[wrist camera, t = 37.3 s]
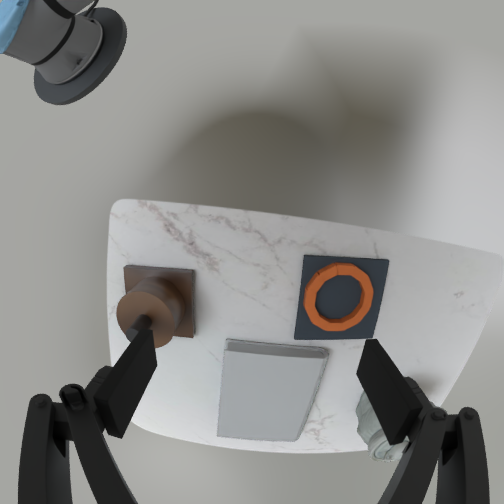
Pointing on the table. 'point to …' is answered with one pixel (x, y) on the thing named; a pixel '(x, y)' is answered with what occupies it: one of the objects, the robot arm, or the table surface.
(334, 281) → the mat
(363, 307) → the ring
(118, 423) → the robot arm
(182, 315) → the ring stand
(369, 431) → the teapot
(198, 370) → the table surface
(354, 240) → the table surface
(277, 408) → the book
